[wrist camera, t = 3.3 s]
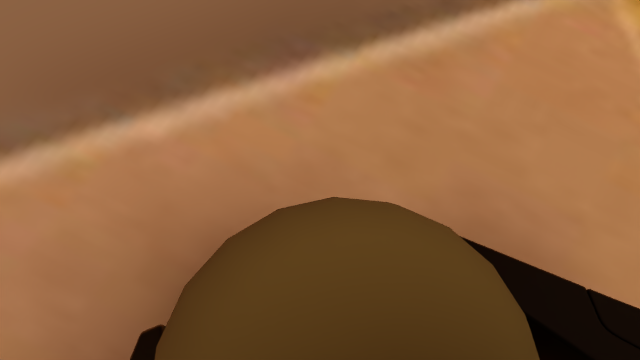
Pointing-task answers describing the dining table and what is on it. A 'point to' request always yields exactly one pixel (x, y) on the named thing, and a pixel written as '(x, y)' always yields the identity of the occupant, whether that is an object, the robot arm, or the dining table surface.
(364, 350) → the pepper shaker
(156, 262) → the dining table surface
